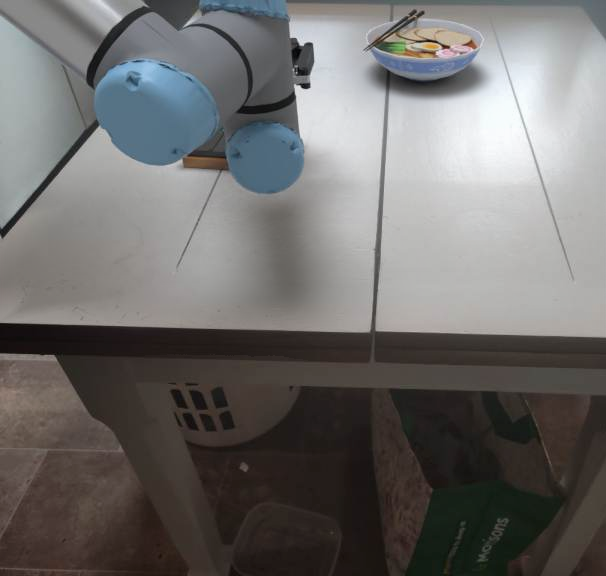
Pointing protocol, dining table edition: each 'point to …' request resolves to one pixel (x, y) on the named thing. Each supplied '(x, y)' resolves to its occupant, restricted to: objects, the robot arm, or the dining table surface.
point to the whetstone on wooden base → (209, 154)
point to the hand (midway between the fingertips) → (247, 38)
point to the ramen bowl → (423, 47)
